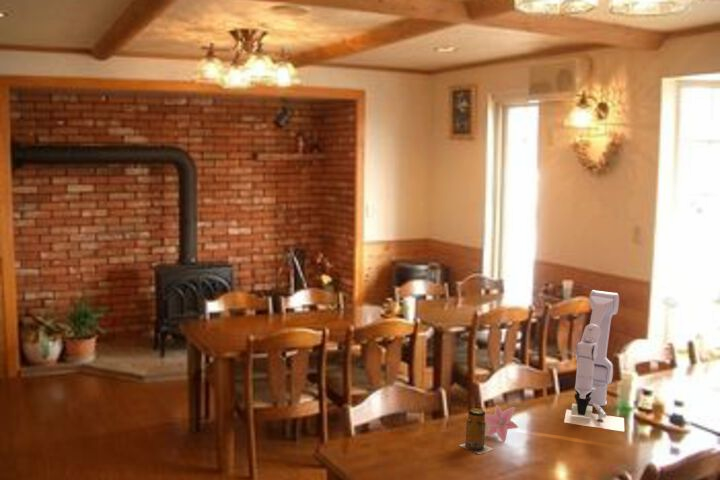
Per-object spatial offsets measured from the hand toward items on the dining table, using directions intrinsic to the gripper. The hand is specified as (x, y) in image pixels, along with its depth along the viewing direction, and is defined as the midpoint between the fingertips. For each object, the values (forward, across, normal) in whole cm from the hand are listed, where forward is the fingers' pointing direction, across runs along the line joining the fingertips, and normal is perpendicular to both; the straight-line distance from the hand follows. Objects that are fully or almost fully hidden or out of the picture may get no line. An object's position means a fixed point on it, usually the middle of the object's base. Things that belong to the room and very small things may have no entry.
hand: (581, 412), depth 262 cm
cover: (+1, 0, 0) cm, 1 cm away
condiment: (+3, -40, +30) cm, 50 cm away
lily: (+3, -26, +25) cm, 37 cm away
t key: (+2, +2, -6) cm, 7 cm away
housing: (+3, 0, -4) cm, 6 cm away
